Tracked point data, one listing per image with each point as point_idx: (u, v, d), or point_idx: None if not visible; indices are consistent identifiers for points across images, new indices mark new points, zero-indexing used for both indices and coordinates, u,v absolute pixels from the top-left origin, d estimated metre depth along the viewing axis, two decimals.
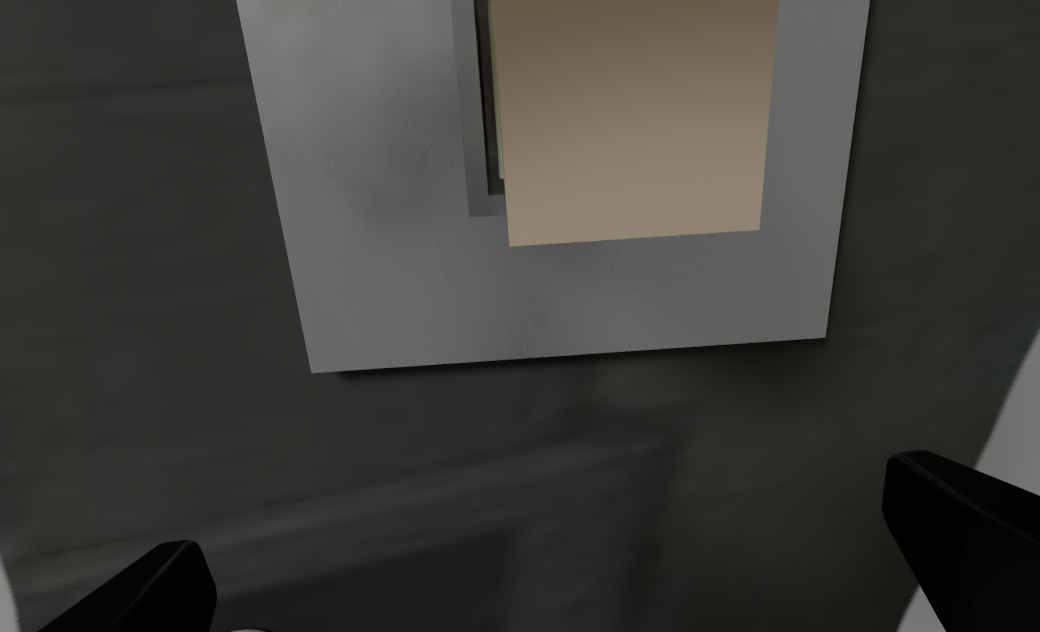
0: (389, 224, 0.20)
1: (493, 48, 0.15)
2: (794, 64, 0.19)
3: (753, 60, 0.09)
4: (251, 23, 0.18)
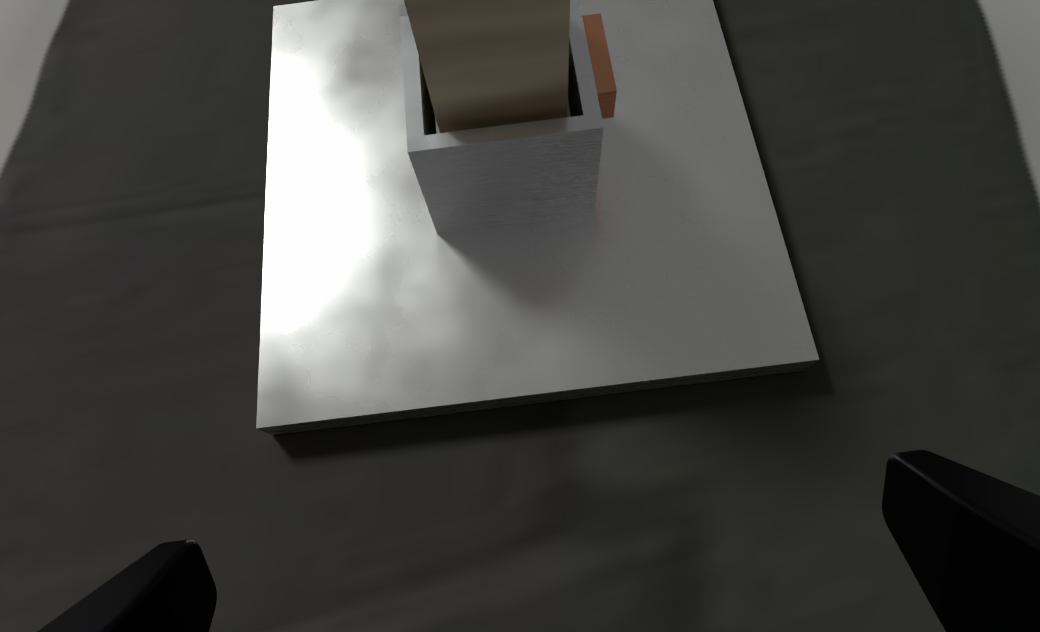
0: (358, 272, 0.22)
1: None
2: (695, 132, 0.24)
3: None
4: (275, 141, 0.24)
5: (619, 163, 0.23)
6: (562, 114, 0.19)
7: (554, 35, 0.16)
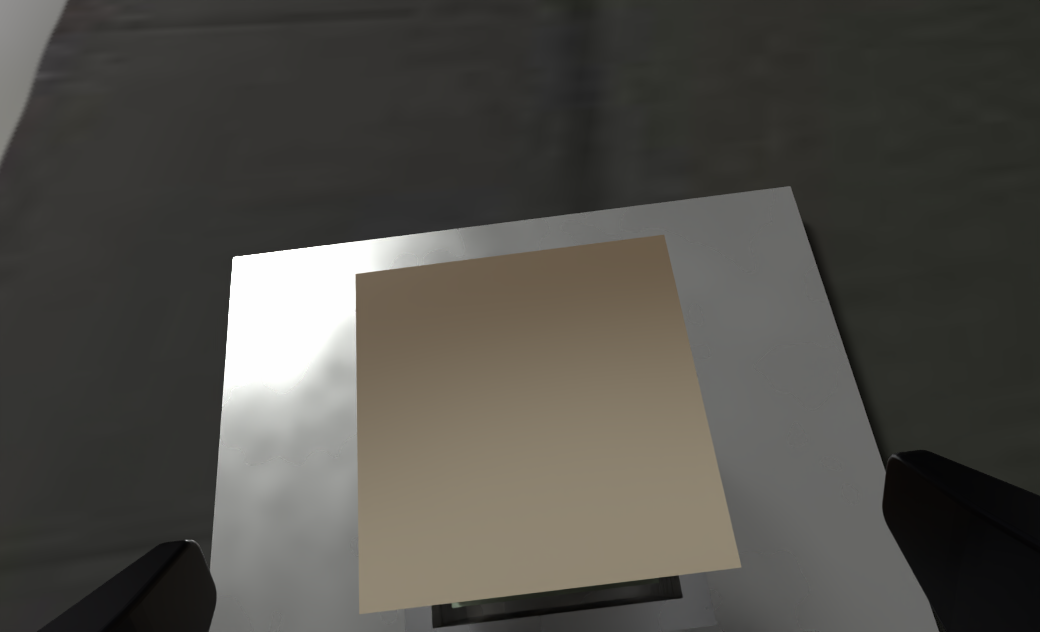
0: None
1: None
2: (807, 477, 0.17)
3: (664, 344, 0.07)
4: (226, 474, 0.18)
5: None
6: (646, 578, 0.12)
7: None
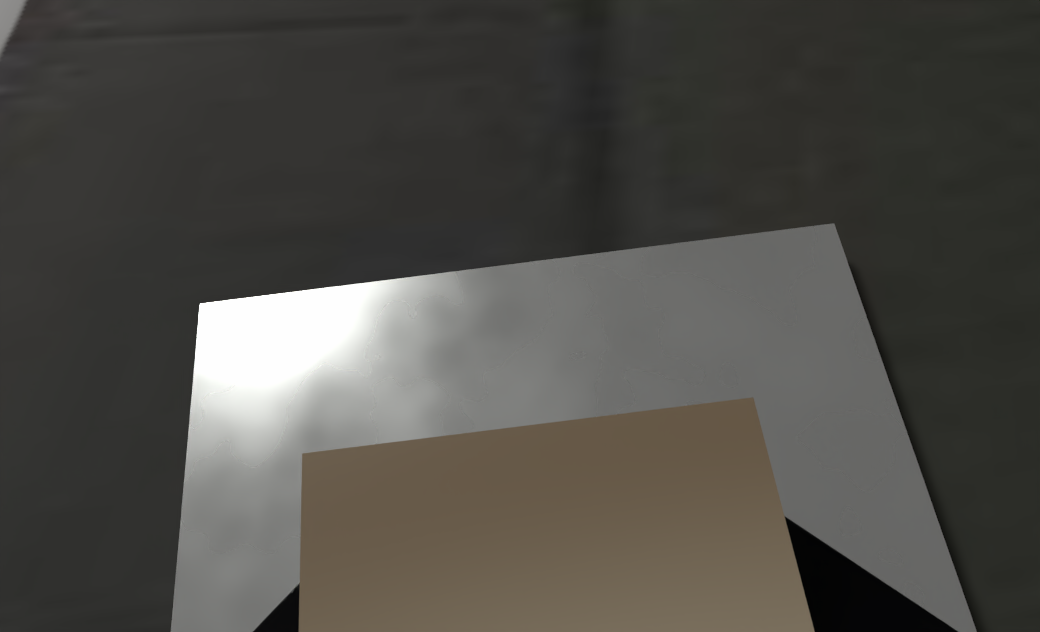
0: None
1: None
2: None
3: (763, 583, 0.05)
4: (188, 564, 0.15)
5: None
6: None
7: None
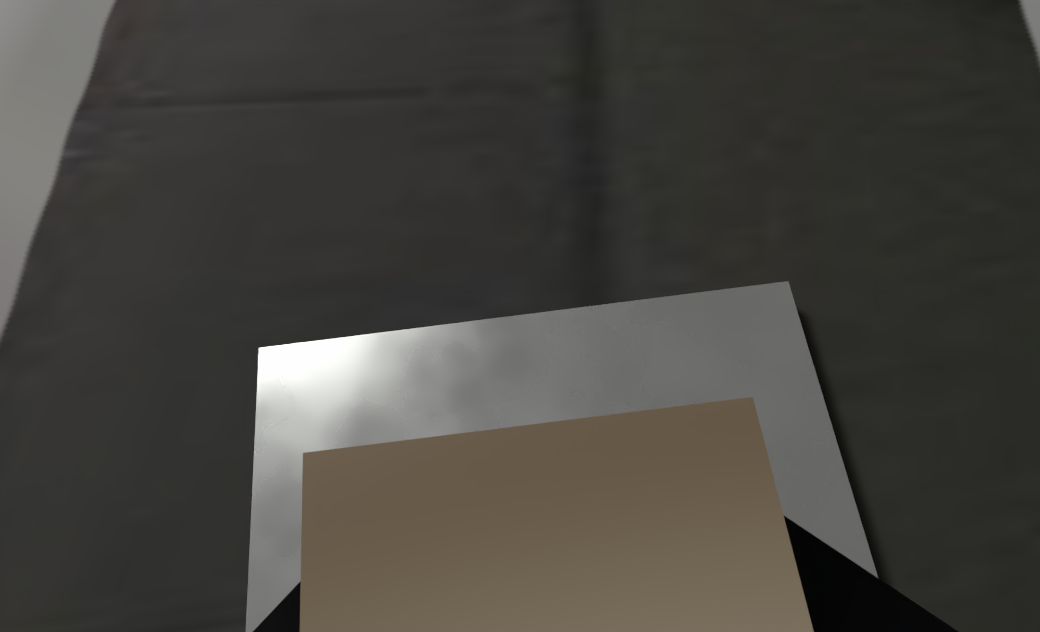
0: None
1: None
2: None
3: (763, 582, 0.05)
4: (257, 565, 0.19)
5: None
6: None
7: None
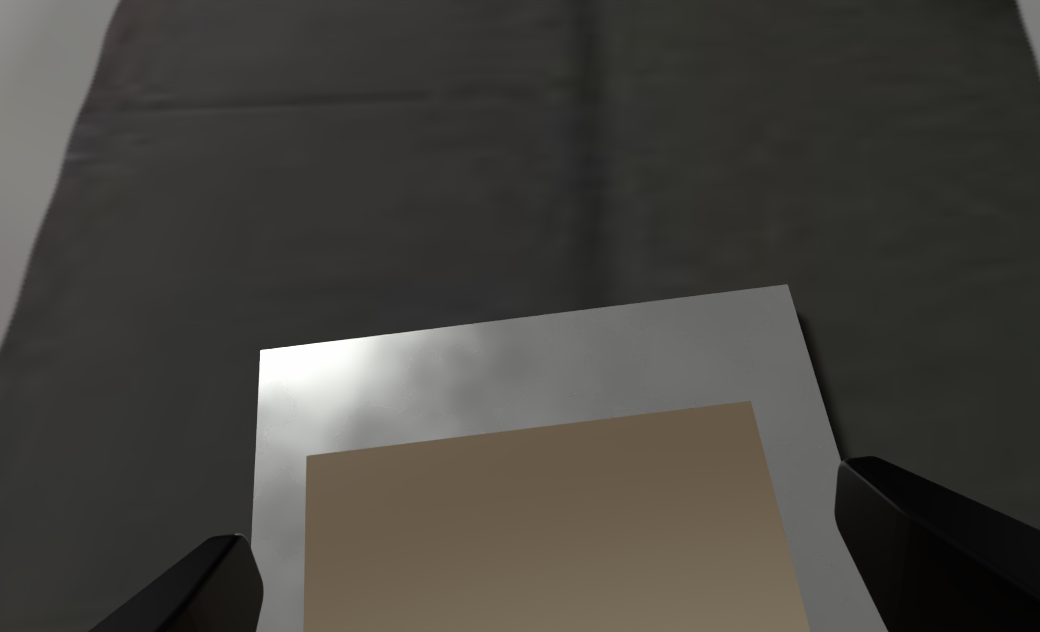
0: None
1: None
2: (802, 575, 0.18)
3: (760, 583, 0.05)
4: (259, 567, 0.19)
5: None
6: None
7: None
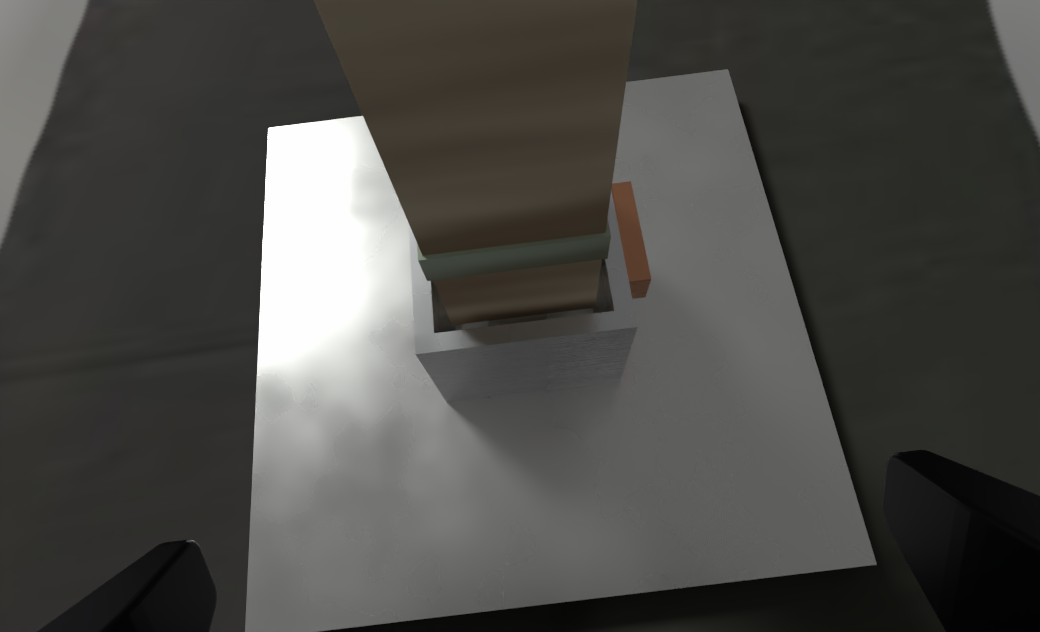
0: (359, 448, 0.20)
1: None
2: (729, 283, 0.21)
3: None
4: (269, 287, 0.22)
5: (646, 319, 0.21)
6: (598, 230, 0.13)
7: (595, 137, 0.10)
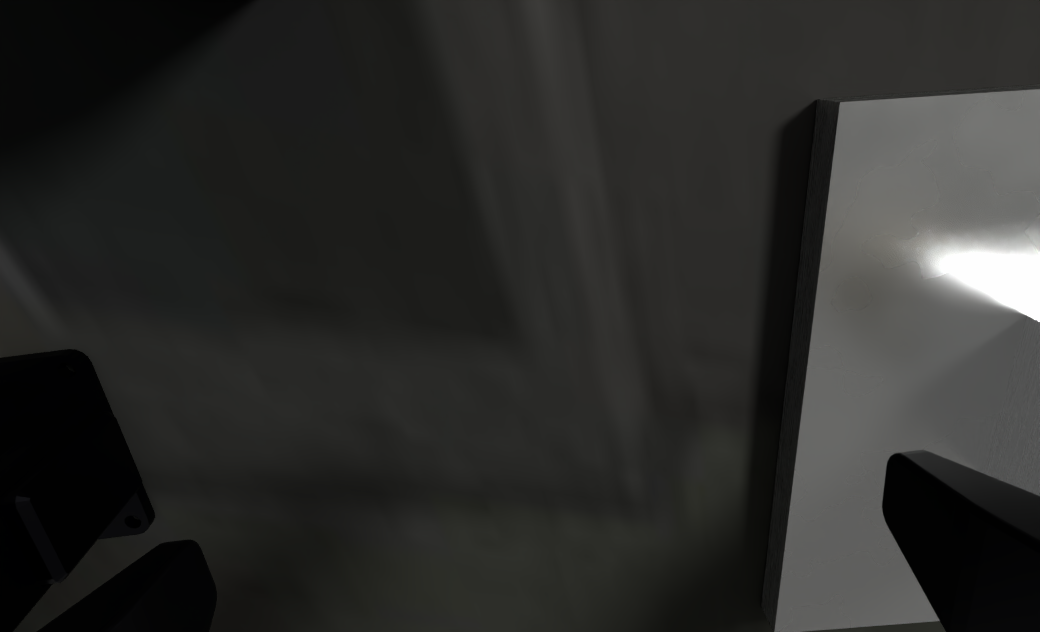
0: (1008, 221, 0.17)
1: None
2: None
3: None
4: None
5: None
6: None
7: None
